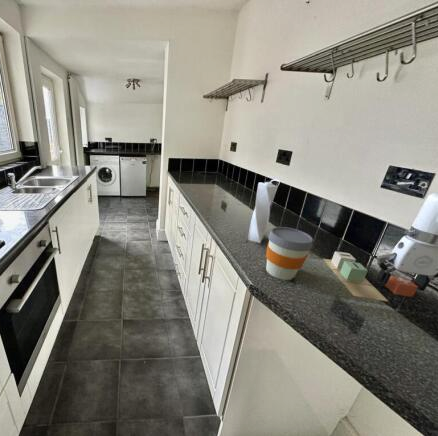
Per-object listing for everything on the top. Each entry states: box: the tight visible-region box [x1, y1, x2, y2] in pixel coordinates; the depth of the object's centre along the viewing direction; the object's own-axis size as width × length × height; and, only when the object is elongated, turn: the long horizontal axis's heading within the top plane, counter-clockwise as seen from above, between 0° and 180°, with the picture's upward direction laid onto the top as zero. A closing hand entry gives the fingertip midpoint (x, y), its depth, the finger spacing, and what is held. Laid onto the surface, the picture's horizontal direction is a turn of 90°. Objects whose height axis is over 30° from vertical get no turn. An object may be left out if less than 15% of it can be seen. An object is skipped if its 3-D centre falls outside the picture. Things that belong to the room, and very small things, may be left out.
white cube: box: [331, 251, 357, 269], centre depth 85 cm, size 5×5×5 cm
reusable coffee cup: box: [265, 226, 314, 281], centre depth 79 cm, size 13×13×15 cm
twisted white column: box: [247, 178, 281, 244], centre depth 100 cm, size 8×8×28 cm
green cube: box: [340, 261, 369, 282], centre depth 78 cm, size 5×5×5 cm
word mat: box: [322, 258, 390, 303], centre depth 79 cm, size 9×22×1 cm, turn 166°
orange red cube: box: [384, 275, 418, 298], centre depth 73 cm, size 5×5×5 cm
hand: (399, 284), depth 73 cm, fingers open, 9 cm apart
